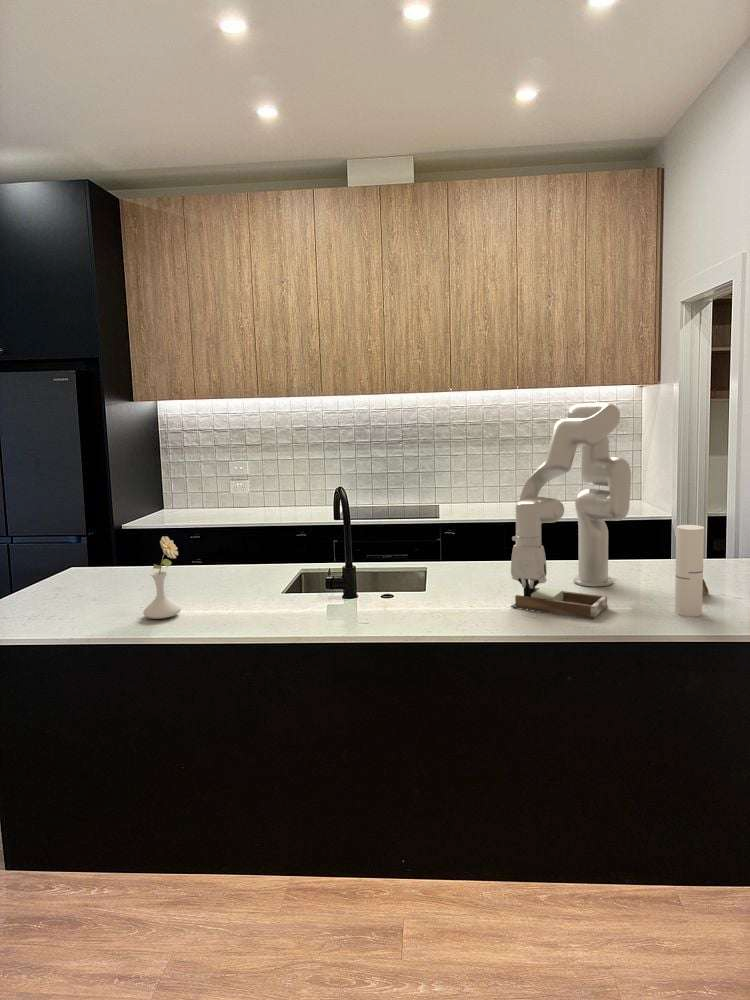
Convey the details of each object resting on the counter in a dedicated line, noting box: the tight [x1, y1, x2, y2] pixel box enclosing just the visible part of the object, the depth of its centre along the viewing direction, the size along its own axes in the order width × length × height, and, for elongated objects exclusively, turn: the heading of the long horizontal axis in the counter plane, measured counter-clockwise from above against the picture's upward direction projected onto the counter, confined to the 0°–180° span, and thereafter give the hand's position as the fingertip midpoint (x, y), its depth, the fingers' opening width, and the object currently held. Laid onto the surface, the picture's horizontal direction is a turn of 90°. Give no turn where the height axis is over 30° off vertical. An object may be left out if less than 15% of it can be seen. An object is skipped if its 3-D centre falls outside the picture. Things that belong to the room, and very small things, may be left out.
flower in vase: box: [143, 535, 182, 620], centre depth 223 cm, size 13×11×25 cm
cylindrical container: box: [674, 524, 705, 617], centre depth 204 cm, size 7×7×25 cm
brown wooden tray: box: [510, 587, 608, 621], centre depth 215 cm, size 13×25×4 cm, turn 55°
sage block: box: [531, 586, 564, 601], centre depth 217 cm, size 8×7×4 cm
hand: (529, 599), depth 221 cm, fingers closed
